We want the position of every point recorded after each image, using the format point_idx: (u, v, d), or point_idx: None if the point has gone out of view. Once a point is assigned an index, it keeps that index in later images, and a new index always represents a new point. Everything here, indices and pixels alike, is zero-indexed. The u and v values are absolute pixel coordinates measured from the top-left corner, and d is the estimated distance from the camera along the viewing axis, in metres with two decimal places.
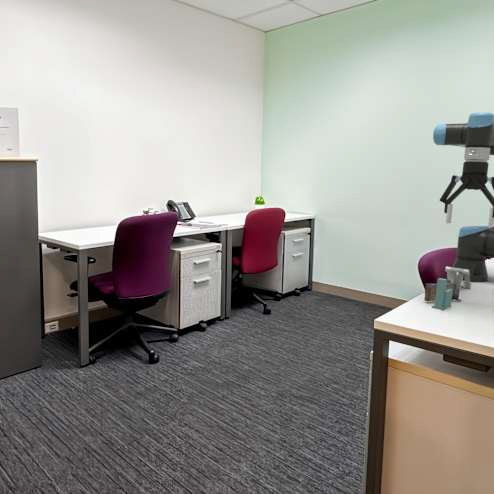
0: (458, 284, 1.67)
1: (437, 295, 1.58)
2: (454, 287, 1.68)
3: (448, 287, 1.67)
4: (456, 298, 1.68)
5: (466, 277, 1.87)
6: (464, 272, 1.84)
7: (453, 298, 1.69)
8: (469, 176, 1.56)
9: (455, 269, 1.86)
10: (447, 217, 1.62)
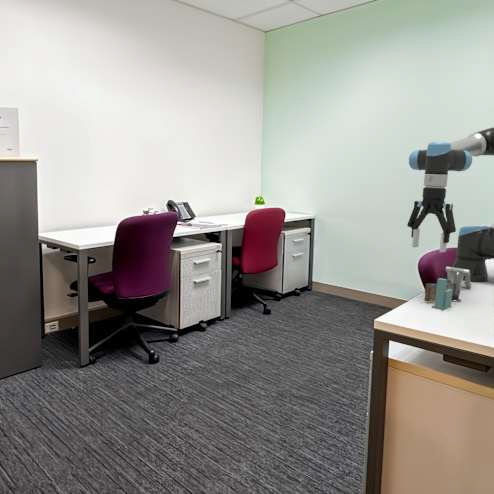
0: (458, 284, 1.67)
1: (437, 295, 1.58)
2: (454, 287, 1.68)
3: (448, 287, 1.67)
4: (456, 298, 1.68)
5: (466, 277, 1.87)
6: (464, 272, 1.84)
7: (453, 298, 1.69)
8: (428, 200, 1.66)
9: (455, 269, 1.86)
10: (413, 241, 1.72)
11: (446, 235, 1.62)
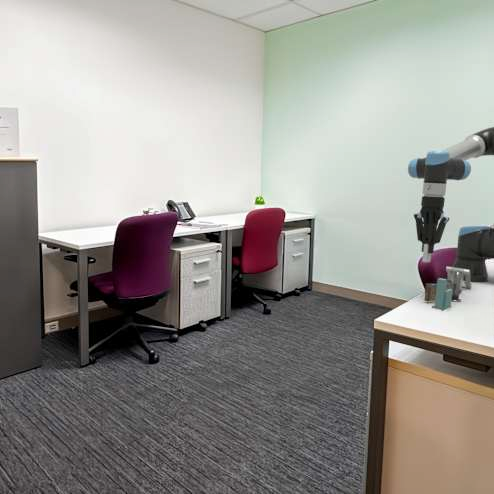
0: (458, 284, 1.67)
1: (437, 295, 1.58)
2: (454, 287, 1.68)
3: (448, 287, 1.67)
4: (456, 298, 1.68)
5: (467, 277, 1.87)
6: (465, 272, 1.84)
7: (453, 298, 1.69)
8: (425, 206, 1.68)
9: (456, 269, 1.86)
10: (423, 256, 1.69)
11: (430, 246, 1.67)
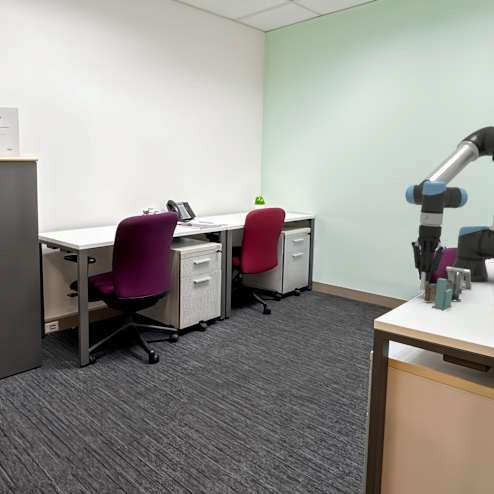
0: (458, 284, 1.67)
1: (437, 295, 1.58)
2: (454, 287, 1.68)
3: (448, 287, 1.67)
4: (456, 298, 1.68)
5: (467, 277, 1.87)
6: (465, 272, 1.84)
7: (453, 298, 1.69)
8: None
9: (456, 269, 1.87)
10: (421, 284, 1.71)
11: (428, 274, 1.69)
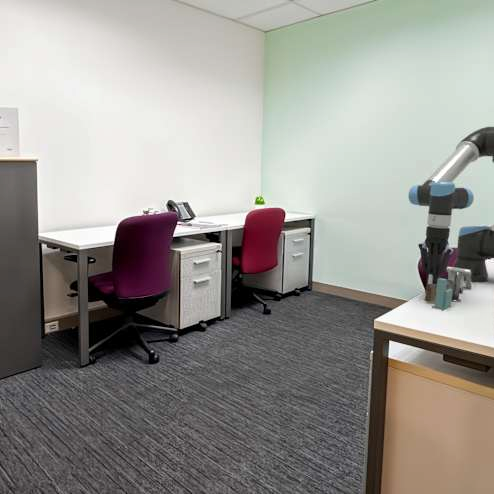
0: (458, 284, 1.67)
1: (437, 295, 1.58)
2: (454, 287, 1.68)
3: (448, 287, 1.67)
4: (456, 298, 1.68)
5: (467, 277, 1.87)
6: (465, 272, 1.84)
7: (453, 298, 1.69)
8: None
9: (456, 269, 1.87)
10: None
11: (435, 276, 1.65)
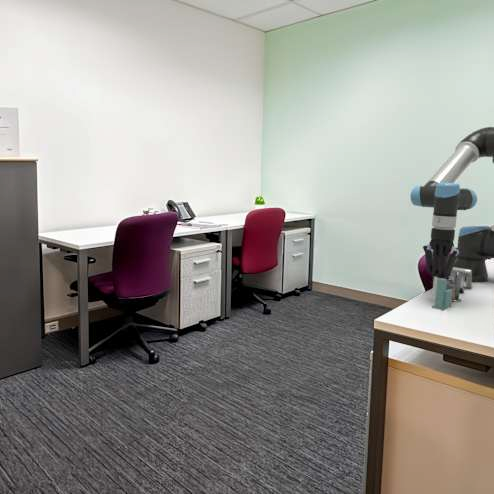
0: (458, 284, 1.67)
1: (437, 295, 1.58)
2: None
3: (453, 288, 1.65)
4: (456, 298, 1.68)
5: (468, 277, 1.87)
6: (466, 272, 1.84)
7: None
8: (434, 238, 1.64)
9: (457, 269, 1.87)
10: (433, 289, 1.65)
11: None
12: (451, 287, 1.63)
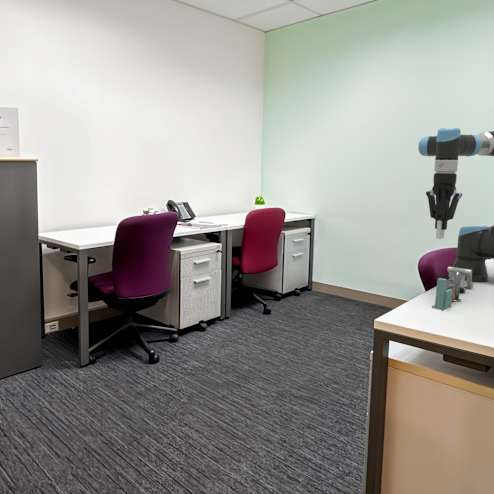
0: (458, 284, 1.67)
1: (437, 295, 1.58)
2: None
3: (453, 288, 1.65)
4: (456, 298, 1.68)
5: (468, 277, 1.87)
6: (466, 272, 1.84)
7: None
8: (437, 183, 1.69)
9: (457, 269, 1.87)
10: (437, 232, 1.71)
11: (444, 222, 1.69)
12: (451, 287, 1.63)
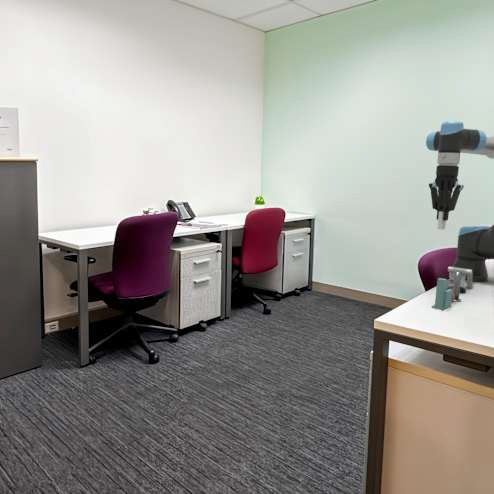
0: (458, 284, 1.67)
1: (437, 295, 1.58)
2: None
3: (453, 288, 1.65)
4: (456, 298, 1.68)
5: (468, 277, 1.87)
6: (467, 272, 1.85)
7: None
8: (439, 175, 1.74)
9: (458, 269, 1.87)
10: (438, 223, 1.76)
11: (445, 213, 1.74)
12: (451, 287, 1.63)
